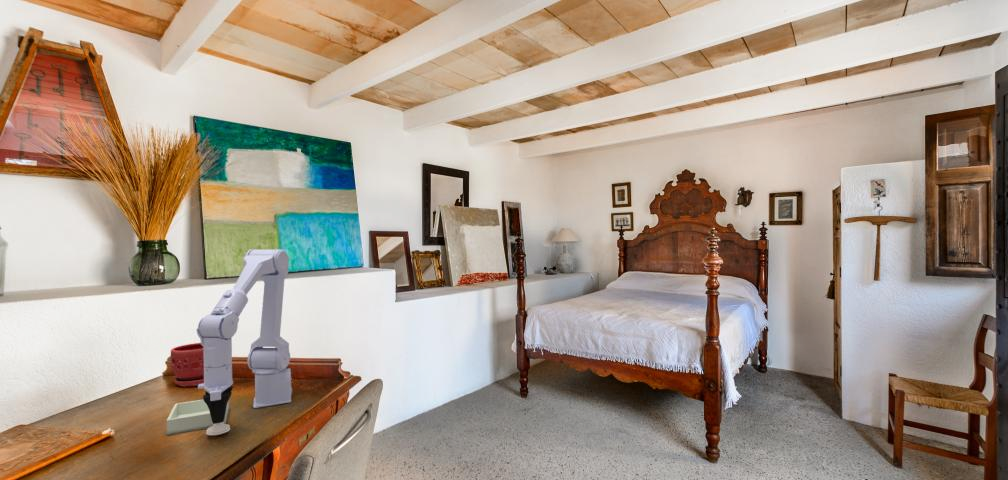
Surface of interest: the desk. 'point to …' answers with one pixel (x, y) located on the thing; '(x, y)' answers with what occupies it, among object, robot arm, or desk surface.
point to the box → (190, 417)
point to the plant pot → (188, 364)
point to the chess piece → (218, 429)
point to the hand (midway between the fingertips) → (218, 420)
